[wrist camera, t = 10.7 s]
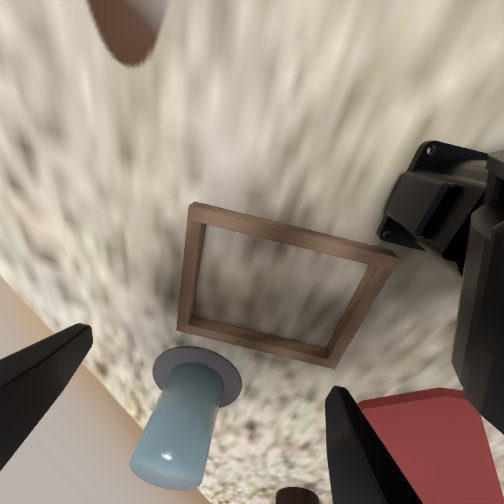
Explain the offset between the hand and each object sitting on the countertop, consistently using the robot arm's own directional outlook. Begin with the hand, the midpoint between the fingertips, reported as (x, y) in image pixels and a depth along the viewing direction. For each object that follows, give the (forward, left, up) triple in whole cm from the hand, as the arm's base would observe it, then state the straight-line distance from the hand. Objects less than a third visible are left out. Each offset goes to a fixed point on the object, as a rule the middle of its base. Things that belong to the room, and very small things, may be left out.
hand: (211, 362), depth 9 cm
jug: (+2, +19, -11) cm, 22 cm away
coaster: (+2, +18, -11) cm, 21 cm away
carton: (-27, +22, -12) cm, 37 cm away
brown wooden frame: (-3, +4, -11) cm, 12 cm away
